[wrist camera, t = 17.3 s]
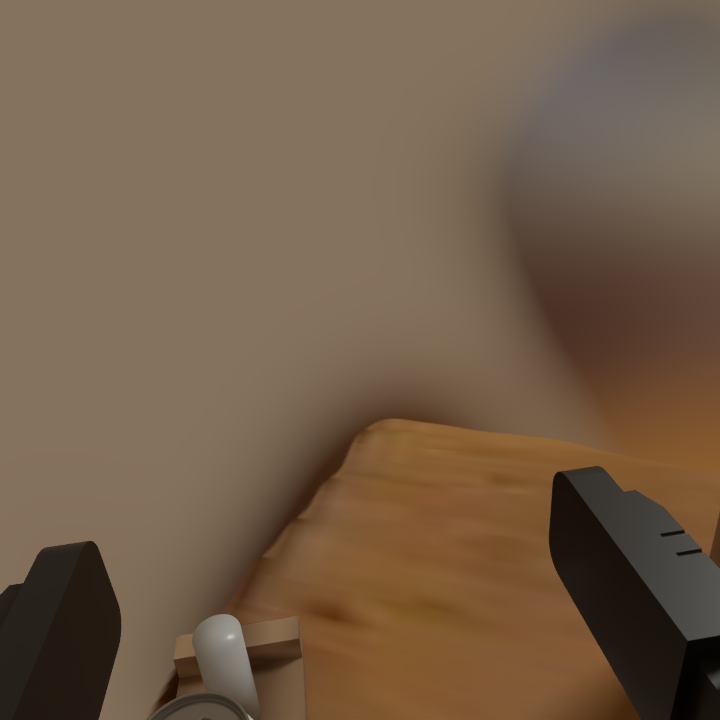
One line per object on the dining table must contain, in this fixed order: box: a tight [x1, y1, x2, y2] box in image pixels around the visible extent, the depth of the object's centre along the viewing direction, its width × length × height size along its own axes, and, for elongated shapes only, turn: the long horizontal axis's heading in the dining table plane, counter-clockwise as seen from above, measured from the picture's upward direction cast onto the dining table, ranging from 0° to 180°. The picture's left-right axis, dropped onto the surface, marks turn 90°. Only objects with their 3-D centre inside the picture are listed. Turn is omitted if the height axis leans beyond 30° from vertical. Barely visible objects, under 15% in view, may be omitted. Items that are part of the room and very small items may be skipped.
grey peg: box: [192, 614, 261, 720], centre depth 38 cm, size 3×3×8 cm
